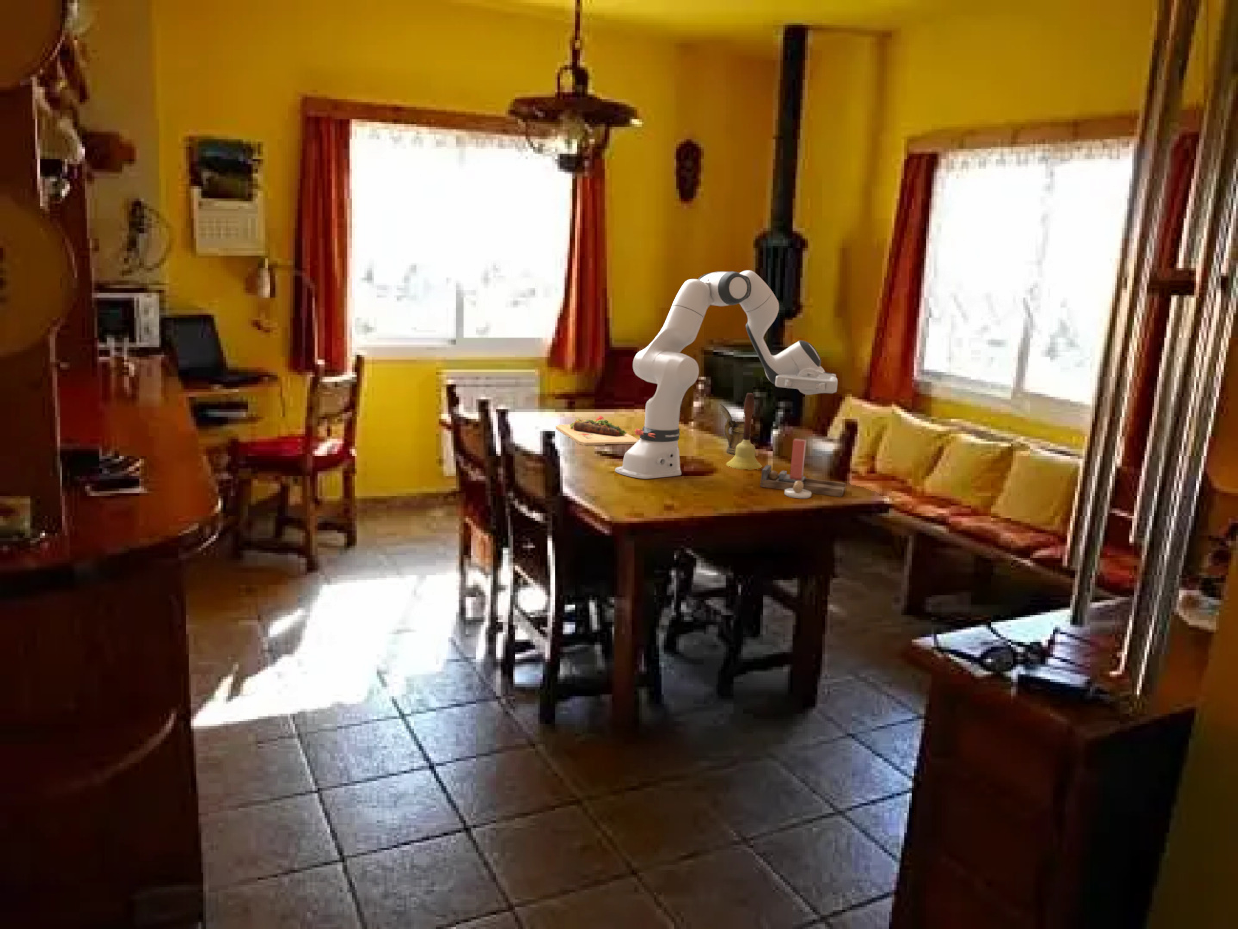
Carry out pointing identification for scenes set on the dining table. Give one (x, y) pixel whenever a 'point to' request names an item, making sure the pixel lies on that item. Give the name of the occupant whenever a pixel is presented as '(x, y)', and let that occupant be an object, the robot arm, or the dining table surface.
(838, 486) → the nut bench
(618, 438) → the cutting board
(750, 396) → the handbell
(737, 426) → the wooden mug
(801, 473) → the jaw slider
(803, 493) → the nut dish
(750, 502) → the dining table surface
